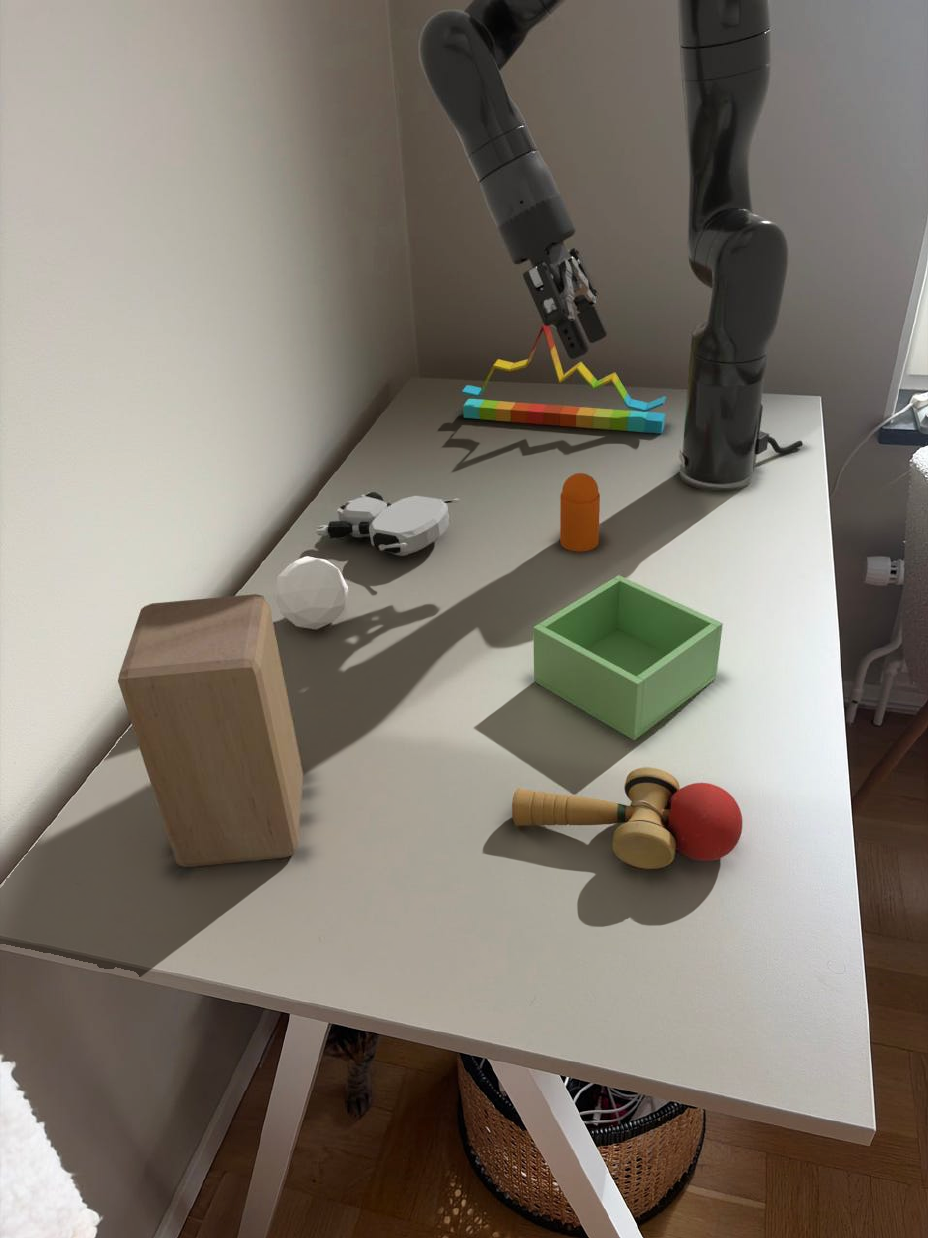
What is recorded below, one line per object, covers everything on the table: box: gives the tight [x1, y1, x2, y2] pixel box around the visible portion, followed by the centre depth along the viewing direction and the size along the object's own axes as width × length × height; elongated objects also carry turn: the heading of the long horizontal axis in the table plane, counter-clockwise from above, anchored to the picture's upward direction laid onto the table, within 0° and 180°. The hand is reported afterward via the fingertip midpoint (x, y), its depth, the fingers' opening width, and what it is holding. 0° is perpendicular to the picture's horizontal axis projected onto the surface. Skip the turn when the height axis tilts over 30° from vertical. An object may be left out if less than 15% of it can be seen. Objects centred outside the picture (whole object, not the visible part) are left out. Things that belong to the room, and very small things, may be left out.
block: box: [117, 593, 304, 868], centre depth 77 cm, size 10×10×20 cm
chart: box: [461, 323, 667, 434], centre depth 143 cm, size 30×3×15 cm, turn 72°
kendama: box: [511, 766, 743, 870], centre depth 78 cm, size 8×6×18 cm
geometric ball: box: [273, 555, 349, 630], centre depth 105 cm, size 8×8×8 cm
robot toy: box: [315, 491, 461, 557], centre depth 120 cm, size 12×4×15 cm
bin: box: [532, 574, 723, 741], centre depth 94 cm, size 13×13×7 cm
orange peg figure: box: [559, 472, 601, 553], centre depth 115 cm, size 5×5×9 cm
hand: (590, 347), depth 109 cm, fingers open, 8 cm apart
